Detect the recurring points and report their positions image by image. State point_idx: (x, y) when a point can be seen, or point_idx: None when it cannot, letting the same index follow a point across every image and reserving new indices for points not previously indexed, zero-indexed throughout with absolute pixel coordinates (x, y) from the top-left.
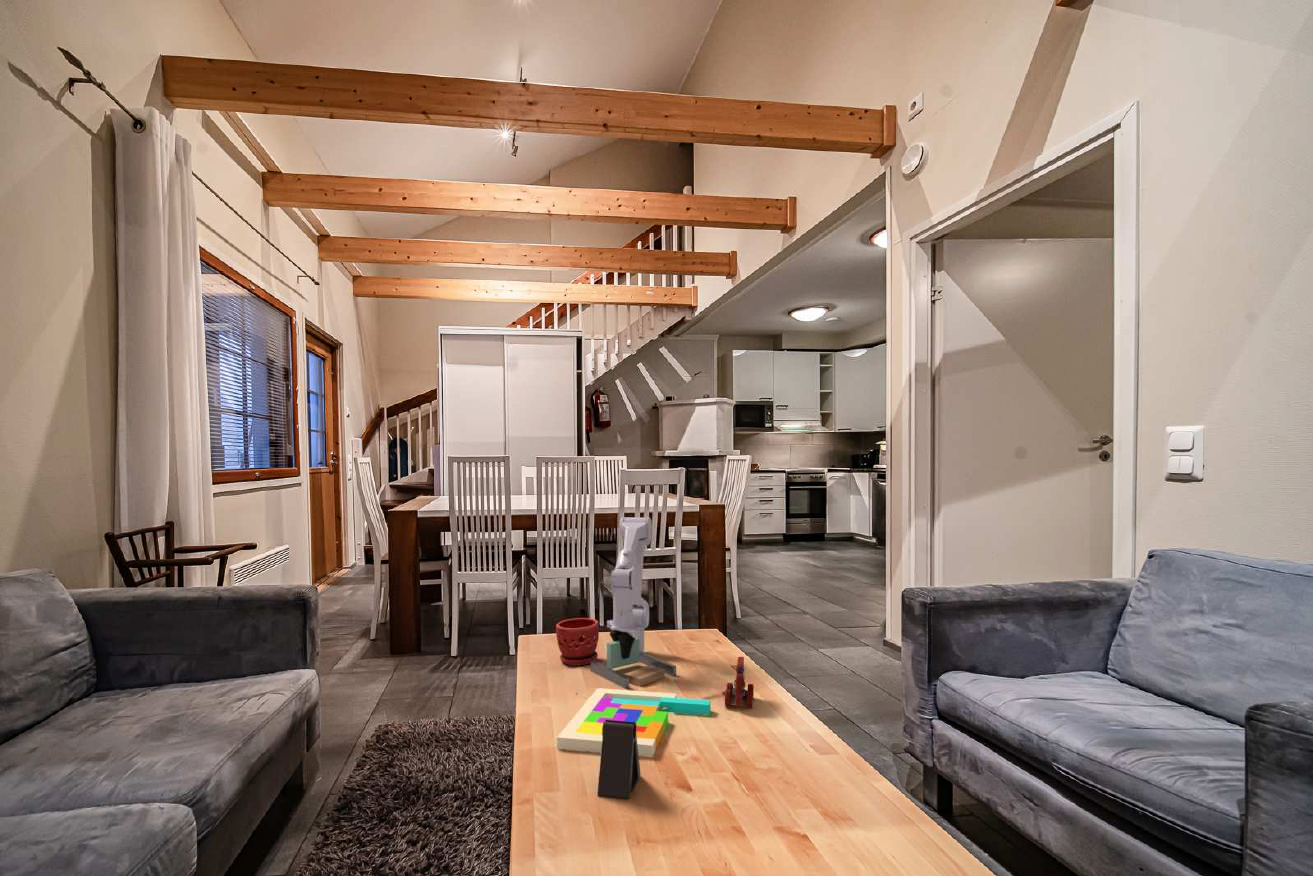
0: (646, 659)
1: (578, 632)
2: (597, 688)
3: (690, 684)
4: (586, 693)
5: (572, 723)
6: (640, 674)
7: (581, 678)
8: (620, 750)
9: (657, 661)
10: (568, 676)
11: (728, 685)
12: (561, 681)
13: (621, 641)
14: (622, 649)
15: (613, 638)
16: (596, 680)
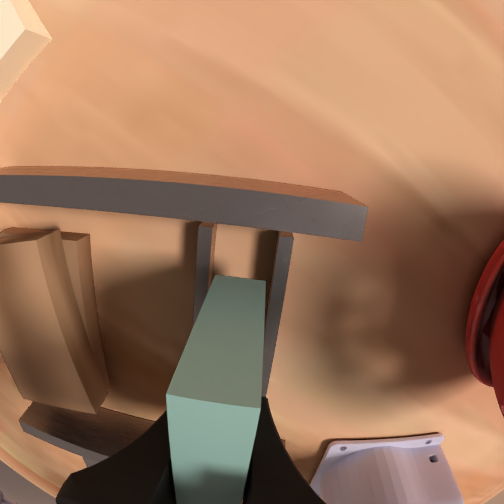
0: None
1: None
2: (23, 27)
3: (10, 390)
4: (125, 15)
5: None
6: (1, 295)
7: (347, 122)
8: None
9: (108, 453)
10: (425, 97)
11: None
12: (381, 19)
13: (113, 470)
14: (156, 427)
15: (279, 496)
16: (249, 164)
